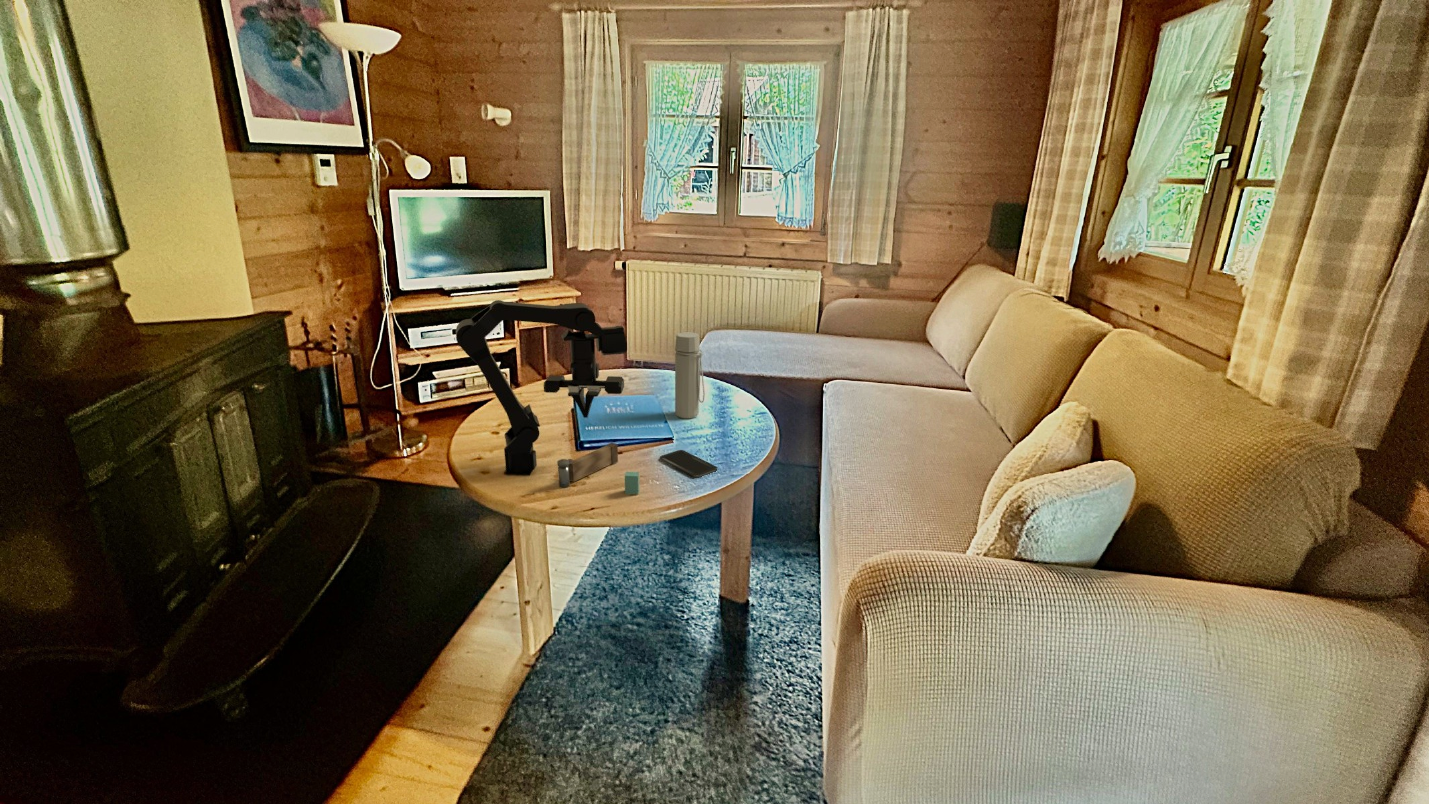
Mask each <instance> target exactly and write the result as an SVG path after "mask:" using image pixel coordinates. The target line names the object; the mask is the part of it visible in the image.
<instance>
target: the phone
mask: <svg viewBox="0 0 1429 804" xmlns="http://www.w3.org/2000/svg"><path fill="white" fill-rule="evenodd" d="M659 461H660V462H662V463H664V464H666V465H668V466H669V467H671V468H673V469H675V470H677V471H679V472H680V473H683V474H684V475H686V476H688V477H689V476H690V478H691V479H694V478H698V479H701V478H703V477H702V476H704V475H707V476H709V475H711V474H710V473H712V474H714V473H713V472H715V473H717V472H718V467H717V466H716V465H714V464H712V463H710V462H708V461H706V460H704V459H702V458H700V457H699V456H696V455H694V454H692V453H690V452H688V451H686V450H684V449H678V450H675V451H672V452H669V453H666V454H663V455H660V456H659ZM716 471H717V472H716ZM708 474H709V475H708ZM704 477H705V476H704Z"/></svg>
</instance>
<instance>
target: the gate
mask: <svg viewBox="0 0 1429 804" xmlns="http://www.w3.org/2000/svg"><path fill="white" fill-rule="evenodd" d="M618 447H619V445H618V443H615V442H609V443H606V444H605V446H602V447H600V448H598V449H596V450H593V451H591V452H589V453H587V454H585V455H581V456H580V457H578V458H576V459H573V458H568V459H566V458H564V459H559V460H557V467H566V466H569V481H571V482H573V483H574V482H576V481H578V480H580V479H583V478H584V477H586V476H588V475H591V474H593V473H595V472H597V471H599V470H601V469H604V468H605V467H608V466H609V465H614V464H616V463H617V462H619V453H618V452H619V450H618V449H619V448H618Z"/></svg>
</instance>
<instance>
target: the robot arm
mask: <svg viewBox="0 0 1429 804" xmlns="http://www.w3.org/2000/svg"><path fill="white" fill-rule="evenodd" d="M503 321H512V322H513V321H514V322H528V323H538V324H552V325H558V326H560V327H564V328H566V330H565V331H564V332H563V333H562V334H561V338H562V340H563V341H564V342H565V341H567V342H568V341H569V343H570V344H569V345H570V367H569V368H570V369H569V371H570V373H571V379H565V375H560V374H559V375H558V374H555V375H554V374H550V375H549V376H548V377H547V378H546V379H545V380H544V381H543V392H544V393H551V394H553V393H554V394H557V392H559V391H560V389H561V388H564V389H566V388H567V389H568V393H567V396H568V397H571V398H572V399H573V401H574V402H575V403H576V404H577V405H576V406H578V408H579V411H580V413H581V414H582V417H583V418H585V419H587V418H589V414H590V410H591V407H592V402H594V401H593V400H594V398H595V397H599V395H600V393H601V391H602V389H604V391H605V393H607V394H608V395H621V394H622V392H623V391H624V388H625V379H624V378H623V376H612V375H611V376H607V377H606V380H599V376H600V364H599V363H597V362H596V361H597V360H596V359H597V358H596V351H597V352H601V355H602V356H613V355H623V354H624V355H625V354H627V351H628V342H627V339H626V338H627V337H626V334H625V327H624V326H622V325H615V326H608V327H602V326H601V325H600V324H599V323H598V322H596V315H595V313H594V311H592V308H590V306H588V305H587V304H585V303H582V302H571V303H564V304H559V305H549V304H536V303H535V304H534V303H526V302H525V303H524V302H513V301H504V300H500V299H496V300H493V301H492V302H491V303H490V304H489V305H488V306H487V307H485V308H484V309H482V310H481V311H479V312H477V313H476V314H475V315H473V316H472V317H471V318H467V319H462V320H461V321H460V322H458V324H457V325H456V329H455V338H456V339H455V340H456V343H457V344H458V346H459V348H461V349H462V350H463V351H464V353H465V354H466V355H467V356H468V357H469V358H470V359H471V360H472V361H473V362H474V363H476V365H477V366H478V368H479V369H480V371H481V373H482V375H483V376H484V378H485V380H486V381H487V383H488V385H489V387H490V389H491V390H492V391H493V393H494V395H495V397H496V398H497V400H498V401H499V403H500V404H501V406H502V408H503V410H504V411H505V413H506V415H507V418H508V422H509V424H510V428H509V429H508V430H507V431H506V432H505V433H504V440H505V444H506V445H505V447H504V448H503V450H504V451H503V452H504V463H505V470H504V471H503V475H504V476H530V475H532V473H533V472H534V471H535V469H536V467H537V451H536V450H534V443H535V442H536V441H537V440H538V439H539V436H540V435H541V434H540V429H539V427H541V424H540V421H539V418H538V416H537V415H536V414H535V413H534V412H533V411H532V407H531V405H530V404H529V403H528V404H527V405H526V406H524V405H523V404H522V403H521V402H520V401H519V399H518V397H517V396H516V394H515V392H514V390H513V388H511V386H510V384H509V382H508V380H507V379H506V377H505V375H504V374H503V371H502V370H501V368H500V366H499V365H498V364H497V362H496V360H495V359H494V357H493V355H492V353H491V350H490V346H489V344H488V341H487V339H486V337H487V336H488V335H490V334H491V333H492V332H493V331H494V330H495V328H496V327H497V326H499V324H500V323H502V322H503ZM573 330H574V331H573ZM586 332H588V333H586ZM597 379H598V380H597ZM585 389H586V390H587V391H586V393H585Z"/></svg>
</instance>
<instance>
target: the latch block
mask: <svg viewBox="0 0 1429 804" xmlns="http://www.w3.org/2000/svg"><path fill="white" fill-rule="evenodd" d="M639 493H640V472H639V471H626V472H625V474H624V494H625V495H639Z"/></svg>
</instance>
